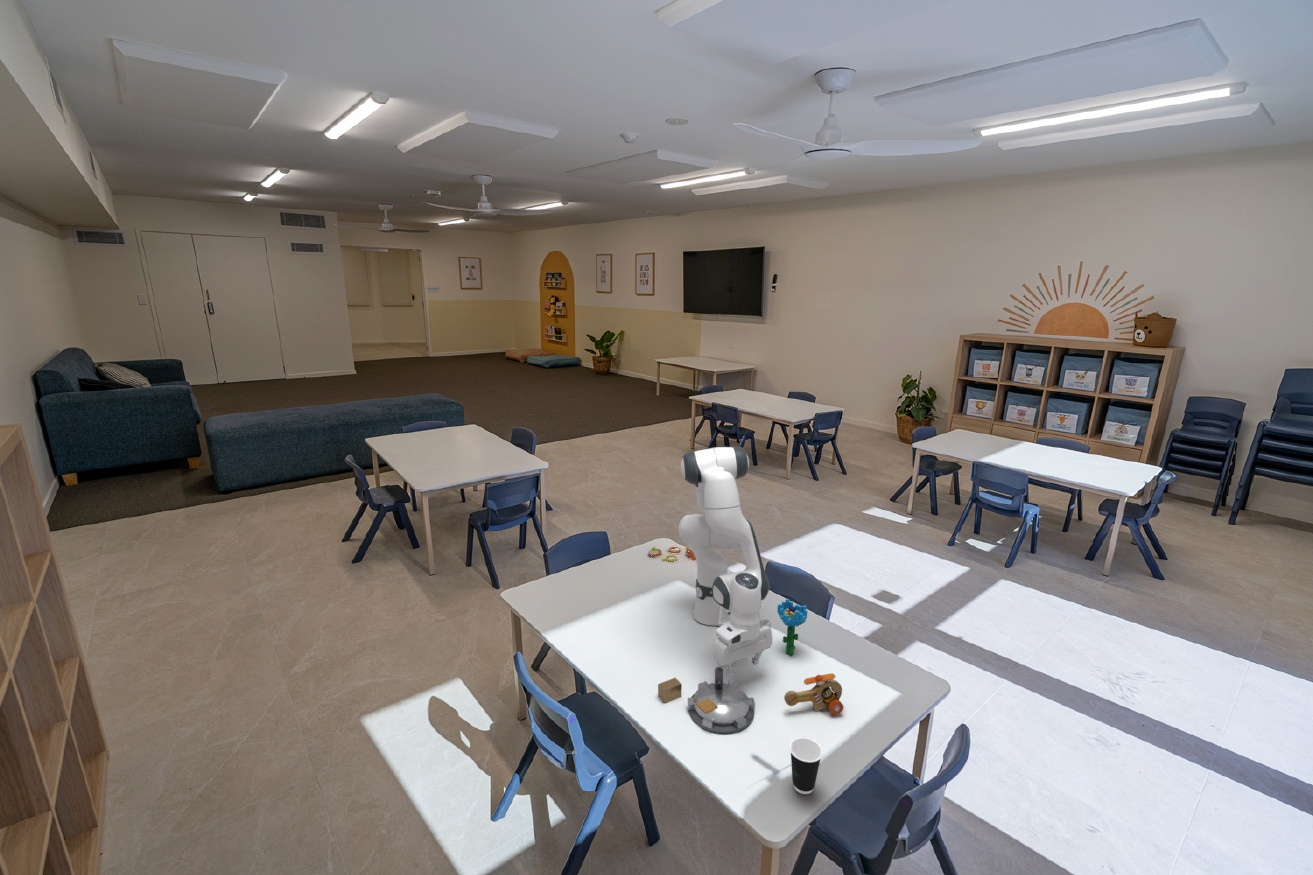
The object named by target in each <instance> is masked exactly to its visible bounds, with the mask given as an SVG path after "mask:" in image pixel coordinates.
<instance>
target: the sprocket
mask: <svg viewBox="0 0 1313 875" xmlns="http://www.w3.org/2000/svg"><path fill="white" fill-rule="evenodd" d="M714 668H715V670H714V682H713V683H712V682H711V683H709V682H707V681H706V680H704V681H702V682H699V683H698V685H697V690H696V691H695V692H694V694H695V695H694V698H691V697H687V710H694V711H695V713H696V714H697V716H698V717H699V718H700V719H702V720H703V726H706V727H708V728H711V729H712V728H713V726H714V725H715V726H733V725H735V726H736V727H737V728H738V729H739V728H741V727H743V726H745V725H746V719H745V718H746V717H747V715H748V713H749V710H753V709H754V710H756V702H755V698H754V697H748V695H747V694H746V693H745V692H744V691H743V690H742V689H740V688H739V683H737V682H733V681H732V680H729V681H728V682H727V683H724V668H723V667H722V666H717V667H714Z"/></svg>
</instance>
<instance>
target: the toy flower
mask: <svg viewBox="0 0 1313 875" xmlns="http://www.w3.org/2000/svg"><path fill="white" fill-rule="evenodd" d="M777 615H779V616H778V617H779V619H780V620H781V621H782V623H783V624H784V626H787V630H786V636H785V635H783V637H782V642H783V643H784V644H786V645H785V654H786V655H787V656H790V657H792V655H794V650H795V649H796V646H795V641H798V640H799V634H798V633H795V632H796V627H799V626H801V625H803V624H804V623H806V620H807V619H808V610H807V605H805V604H804V605H800V604H795V605H794V601H792V600H791V601H790V599H789V598H786V599H785V601H781V603H779V604H777Z"/></svg>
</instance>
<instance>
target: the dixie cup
mask: <svg viewBox="0 0 1313 875" xmlns="http://www.w3.org/2000/svg"><path fill="white" fill-rule="evenodd" d="M789 751H790V762H791V778H792V785H793V788H794V790H795V791H796V792H798V793H800V794H803V795H809V794H811V793H813V791H814V789H815V786H816V781H817V776H818V772H819V768H820V764H821V759H822V757H823V755H824V754H823V752H824V751H823V749H822V746H821V745H820V744H819V743H818V742H817V741H815V740H813V739H812V738H808V737H797V738H794V739H793V740H791V741H790V744H789Z"/></svg>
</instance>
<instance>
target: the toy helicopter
mask: <svg viewBox="0 0 1313 875" xmlns="http://www.w3.org/2000/svg"><path fill="white" fill-rule="evenodd" d="M835 678H836V674H835V673H832V672H831V673H825V674H817V675H816V676H813V677H812V676H811V677H807V678H805V679H804V680H803V684H804V685H807V686H809V685H811V684H815V685H814V686H813V687H812V688H811V689H807V690H806V689H805V690H801V691H798V692H796V691H795V690H789V691H787V692H786V693H785V694H784V698H783V699H784V702H785V704H787V706H789V707H794V706H796V705H797V704H799V703H806V702H807V703H808V702H811V703H812V708H813V710H814V711H815V712H819V711H820V710H822V709H828V711H829V712H830V713H831V714H832V715H836V716H837V715H840V714H841V713H842V711H843V710H844V704H843V703H842V702H841V700H840V699H841V697H842V694H843V687H842V685H841V684H840V682H839V681H837V680H836V679H835Z"/></svg>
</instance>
